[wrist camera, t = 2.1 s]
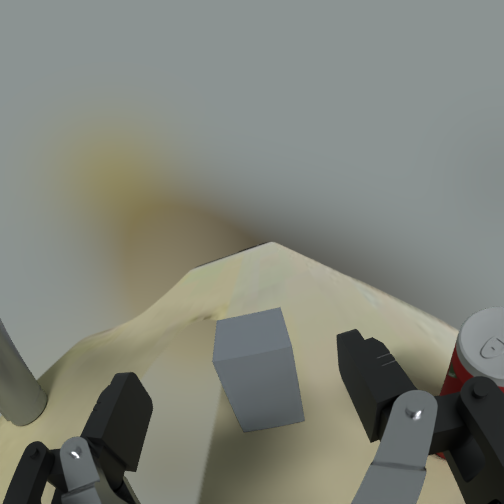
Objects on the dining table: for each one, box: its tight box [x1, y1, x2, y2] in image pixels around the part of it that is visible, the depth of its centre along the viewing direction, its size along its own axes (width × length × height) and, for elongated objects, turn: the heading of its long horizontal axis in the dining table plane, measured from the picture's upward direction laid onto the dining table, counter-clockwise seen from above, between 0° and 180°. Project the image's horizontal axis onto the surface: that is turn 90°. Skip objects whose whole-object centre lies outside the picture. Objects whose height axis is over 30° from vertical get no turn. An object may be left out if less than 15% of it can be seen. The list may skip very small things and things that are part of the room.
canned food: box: [436, 307, 504, 459], centre depth 12 cm, size 8×8×11 cm
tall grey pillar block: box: [212, 307, 305, 432], centre depth 23 cm, size 6×6×10 cm
